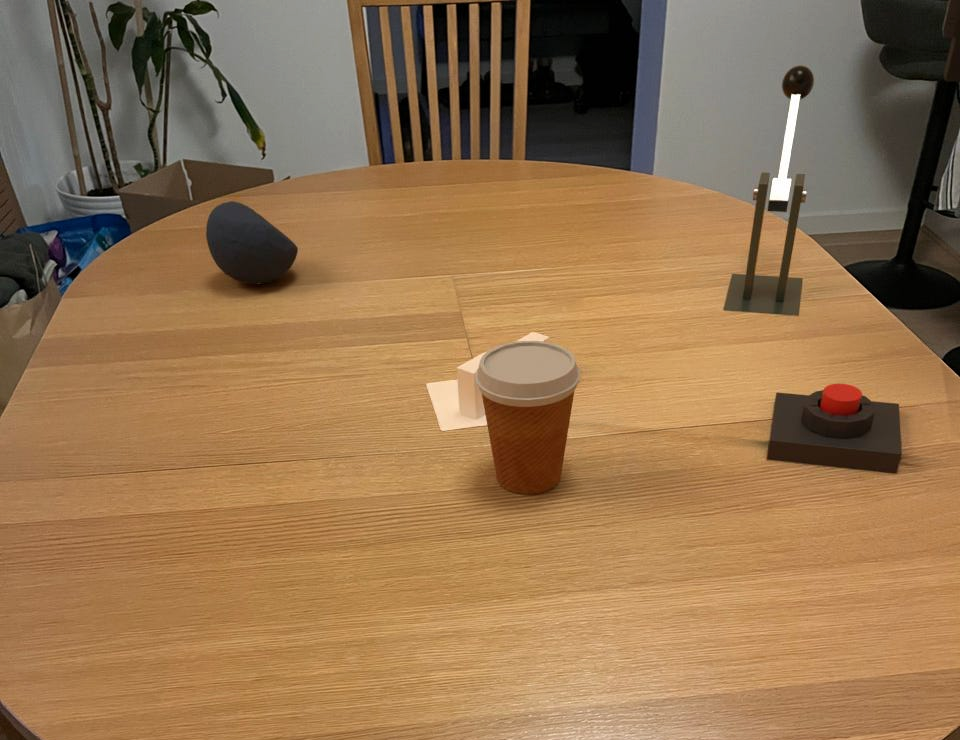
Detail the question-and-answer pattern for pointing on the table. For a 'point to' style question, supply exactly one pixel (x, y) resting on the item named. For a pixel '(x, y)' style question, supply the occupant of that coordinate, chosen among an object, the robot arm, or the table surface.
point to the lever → (789, 133)
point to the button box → (835, 434)
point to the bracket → (768, 290)
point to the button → (841, 399)
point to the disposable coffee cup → (528, 411)
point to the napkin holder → (464, 395)
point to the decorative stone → (248, 244)
